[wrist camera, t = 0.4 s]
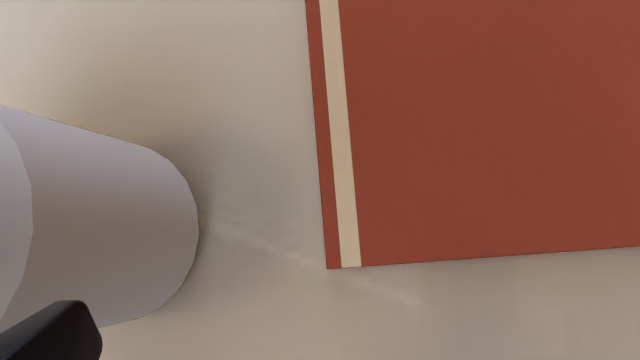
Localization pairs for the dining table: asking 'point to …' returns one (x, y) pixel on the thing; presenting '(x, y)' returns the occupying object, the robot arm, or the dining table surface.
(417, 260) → the red table runner
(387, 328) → the dining table surface
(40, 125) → the can
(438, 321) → the dining table surface
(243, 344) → the dining table surface
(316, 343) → the dining table surface
